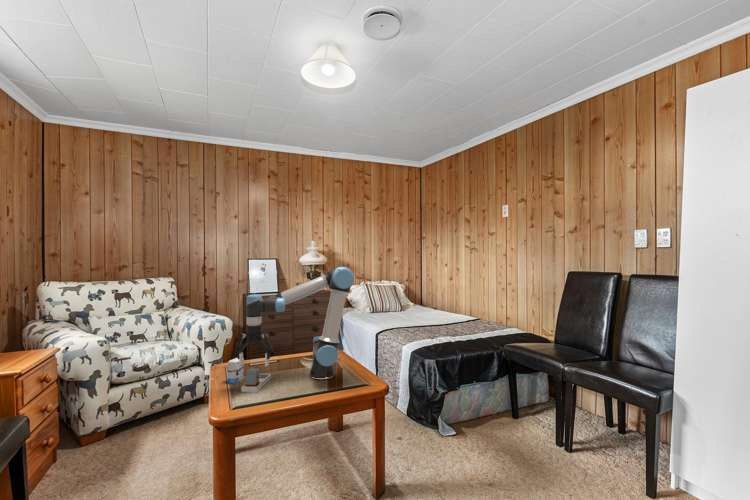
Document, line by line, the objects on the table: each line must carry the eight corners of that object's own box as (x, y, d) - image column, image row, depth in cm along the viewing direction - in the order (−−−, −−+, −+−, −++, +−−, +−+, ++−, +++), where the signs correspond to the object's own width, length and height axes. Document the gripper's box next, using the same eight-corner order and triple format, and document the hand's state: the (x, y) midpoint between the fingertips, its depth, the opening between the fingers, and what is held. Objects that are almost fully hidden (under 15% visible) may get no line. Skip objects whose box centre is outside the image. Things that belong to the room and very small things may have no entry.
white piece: (271, 378, 205) (271, 373, 205) (256, 392, 183) (256, 387, 183) (257, 378, 205) (257, 373, 205) (241, 391, 183) (241, 386, 183)
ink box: (235, 384, 195) (235, 362, 195) (226, 383, 196) (227, 361, 196) (243, 379, 203) (244, 358, 203) (235, 378, 204) (236, 357, 204)
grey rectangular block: (258, 387, 190) (259, 368, 190) (255, 391, 185) (255, 371, 185) (249, 387, 190) (250, 368, 191) (245, 390, 185) (246, 370, 186)
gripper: (279, 323, 192) (279, 363, 191) (233, 323, 193) (233, 363, 193) (275, 325, 184) (275, 367, 184) (227, 325, 186) (227, 367, 185)
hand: (253, 365), depth 188 cm, fingers open, 13 cm apart
